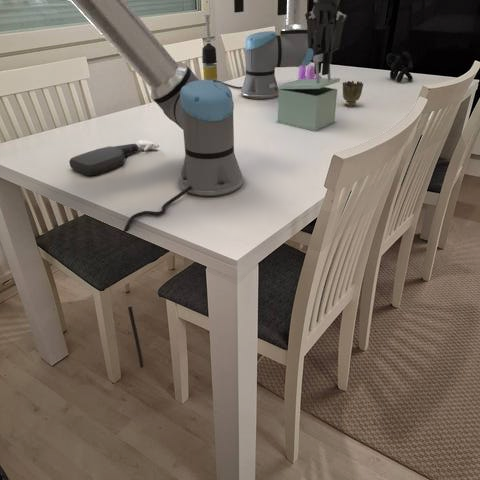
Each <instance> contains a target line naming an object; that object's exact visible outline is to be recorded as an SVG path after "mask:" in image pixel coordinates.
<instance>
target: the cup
mask: <svg viewBox="0 0 480 480" xmlns="http://www.w3.org/2000/svg"><path fill="white" fill-rule="evenodd" d="M363 88H364V83H363V82H362V81H357V82H354V80H352V81H350V80H347V81H343V82H342V97H343V99H344V100H345V105H346V106H348V107H353V106H355V105H356V104H357V102H358V100H359V99H360V98H361V96H362V92H363Z"/></svg>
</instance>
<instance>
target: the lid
mask: <svg viewBox="0 0 480 480" xmlns="http://www.w3.org/2000/svg"><path fill="white" fill-rule="evenodd" d="M313 61H314V62H313ZM312 62H313V63H314V66H315V65H316V79H299V80H298V79H296V80H293V81H289V82H287V83H283V84H280V85H278V89H320V88H323V87H328V86H331V85H335V84H338V83H340V82H341V78H340V77H333V78H331V63H330V64H329V74H327V77H326V78H321V79H319V74H320V73H319V64H318V62H322V63H323V53H322V54H319V55H315V56H314V57H312Z"/></svg>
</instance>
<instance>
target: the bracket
mask: <svg viewBox="0 0 480 480" xmlns="http://www.w3.org/2000/svg"><path fill="white" fill-rule="evenodd" d="M297 78H298V79H297V80H299V79H316V74H314V66H313V65H308V66H300V67H298V77H297ZM319 79H322V74H321V73H319Z"/></svg>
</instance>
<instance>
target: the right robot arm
mask: <svg viewBox="0 0 480 480" xmlns="http://www.w3.org/2000/svg"><path fill="white" fill-rule="evenodd" d="M340 1H341V0H313V7H312V10H311V11H309V12H308V0H287V14H286V15H283V18H284V19H283V20H284V22H283V23H284V24H283V26H282V27H281V28H280V31H279V35H278V34H277V33H276V32H275V31H274V30H269V31H268V30H267V31H259V32H255V33H252V34H249V35H248V36H247V37H246V38H245V44H244V45H245V48H244V51H245V77H244V80H243V84H242V86H237V85H232V84H229V83H225V82H224V81H221V80H218V79H217V80H212V81H215V82H220V83H222V84H224V85H226V86H227V87H228V88H234V89H239V90H241V91H240V92H241V93H240V95H241V97H242V98H246V99H249V100H270V99H274V98H277V97H278V93H279V85H278V83H277V82H278V81H277V79H276V75H275V74H276V71H275V70H276V68H299V67H300V66H306V67H308V66H310V64H311V62H313V63H314V61H313V57H314V56H315V55H319V54H323V61H322V62H318V64H319V74H321V76H326V75H327V74H329V64H330V65H331V64H332V63H333V53H334V52H335V51H338V50H339V49H340V45H341V40H342V35H343V30H344V25H345V22H346V19H347V18H348V15H347V14H346V13H345V14H344V13H342V12H341V10H340ZM335 20H336V22H335ZM324 29H325V50H324V52H323V50H322V47H321V46H322V40H323V35H324V34H323V33H324ZM313 67H314V74H316V65H315V64H314V66H313ZM327 76H328V75H327Z"/></svg>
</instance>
